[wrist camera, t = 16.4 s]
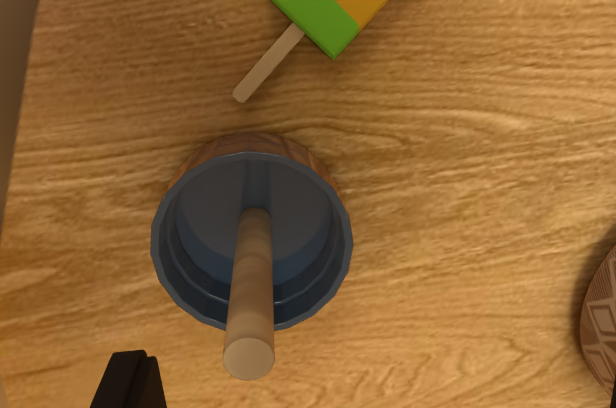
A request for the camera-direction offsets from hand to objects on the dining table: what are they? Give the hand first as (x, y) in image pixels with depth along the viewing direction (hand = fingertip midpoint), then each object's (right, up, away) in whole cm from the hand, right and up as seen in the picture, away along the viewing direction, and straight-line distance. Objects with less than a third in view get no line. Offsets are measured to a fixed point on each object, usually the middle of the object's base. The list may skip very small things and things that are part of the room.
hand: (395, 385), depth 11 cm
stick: (-5, 0, +19) cm, 20 cm away
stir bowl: (-5, +3, +27) cm, 27 cm away
